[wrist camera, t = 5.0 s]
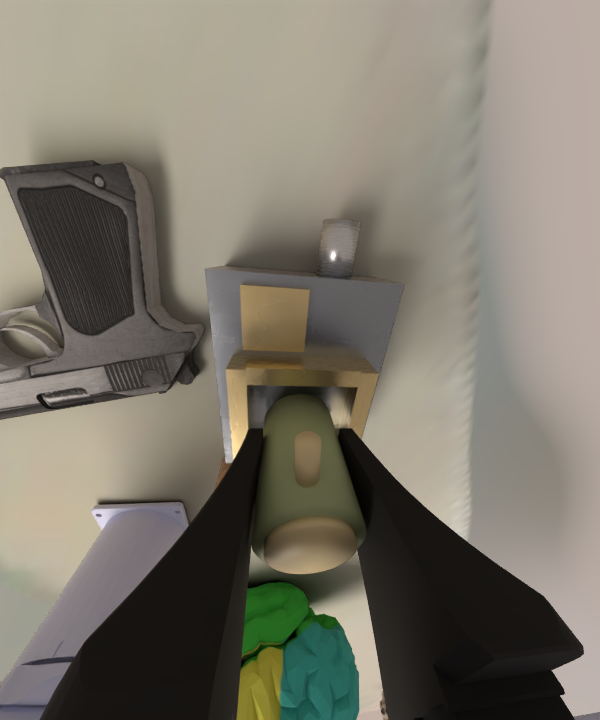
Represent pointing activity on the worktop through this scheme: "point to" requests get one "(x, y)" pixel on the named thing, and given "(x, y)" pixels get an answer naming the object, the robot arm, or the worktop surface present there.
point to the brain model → (294, 660)
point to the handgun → (92, 292)
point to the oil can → (304, 491)
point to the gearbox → (299, 336)
